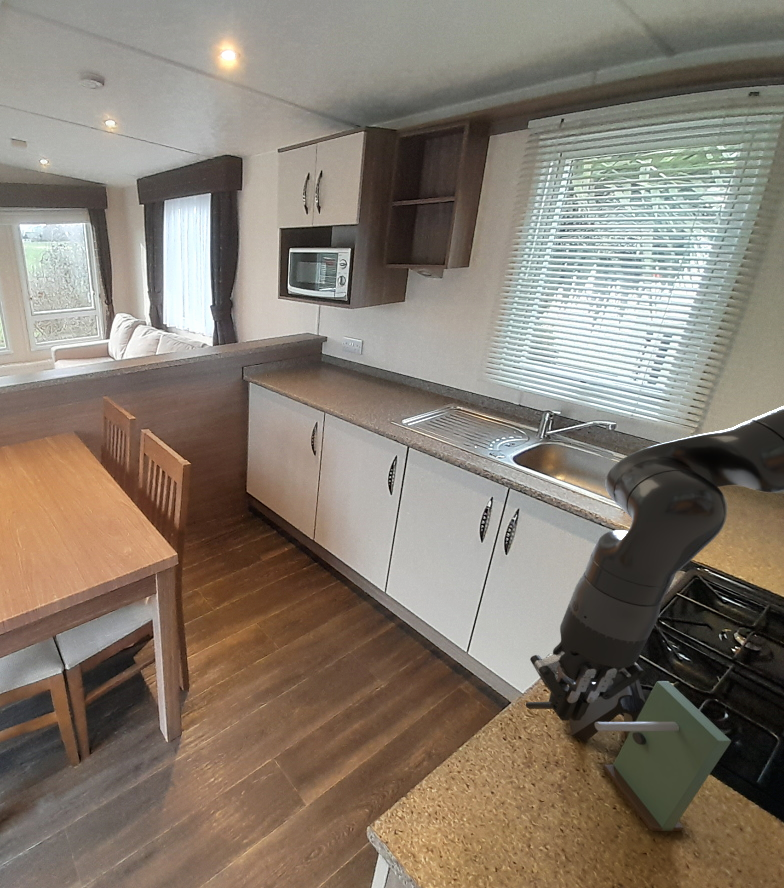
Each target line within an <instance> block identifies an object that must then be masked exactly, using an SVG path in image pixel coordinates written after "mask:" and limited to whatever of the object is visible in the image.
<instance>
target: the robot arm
mask: <svg viewBox="0 0 784 888" xmlns="http://www.w3.org/2000/svg"><path fill="white" fill-rule="evenodd" d="M604 486H605V490H606V492H607V494H608V496H609V497H610V499H611V500H612V501H614V503H615V504H616V505H617V506H618V507H619V508H620V509H621V510H623V511H624V512H625V513H626V514H627V515H628V516H629V517H630V518H631V523H630V527H629V528H628V530H627V529H625V530H624V529H615V530H610V531H607V532H605V533H603V534H602V535H600V537H599V538H598V539H597V540H596V543H595V545H594V547H593V548H592V551H591V553H590V556H589V558H588V562H587V564H586V567H585V569H584V571H583V573H582V576H581V577H580V578H579V580H578V582H577V583H576V585H575V587H574V589H573V590H574V591H573V592H572V595H571V597H570V600H569V603H568V605H567V608H566V610H565V613H564V615H563V618H562V620H561V623H560V626H559V633H560V642H559V643H558V644H557V645H556V646H555V647H554V648H553V650H552V654H551V655H548V656H546V657H544V658H542V657H541V656H540V655H539V654H534V655H532V656H531V657H530V659H529V660H530V663H531V664H532V665H533V668H534V669H535V671H536V673H537V674H538V676H539V678H540V679H541V681H542V682H543V684H544V685H545V687H546V688H547V689H548V690H549V692H550V694H551V693H552V694H553V695H554V697H553V700H552V702H551V707H552V709H551V710H553V712H554V713H555V715H557V717H558V718H559V720H561V721H562V722H563V721H569V722H570V720H569V719H570V718H571V719H572V720H573V721H580V720H581V718H582V716H583V715H584V714H585V713H586V711H587V708H588V706H589V704H590V703H593V702H595V701H596V700H597V698H598V697H602V698H603V699H605V700H607V699H610V698H612V697H613V696H614V695H616V694H617V693H619V692H620V691H622V690H623V689H625V688H626V687H628V686H629V685H631V684H632V683H634V682H635V681H637V680H638V679H639V680H640V679H641V678H643V677H644V676H645V675H646V671H645V670H644V669H643V668H642V667H641V666H640V664H638V663H637V661H638V660H639V658H640V656H641V654H642V652H643V650H644V648H645V645H646V644H647V641H648V640H649V638H650V636H651V634H652V631H653V629H654V627H655V626H656V623H657V621H658V619H659V616H660V614H661V613H660V612H661V608H662V604H663V601H664V600H665V598H666V596H667V593H668V591H669V590H670V588H671V586H672V584H673V582H674V579H675V576H676V574H677V573H678V572H679V571H680V570H681V569H683V568H684V567H685V566H686V565H688V564H689V563H690V562H691V561H692V560H693V559H694V558H695V557H696V556H697V555H699V553H700V552H702V551H703V550H704V549H705V548H706V547H707V546H708V545H709V544H710V543H711V542H713V540H714V539H715V538H716V537H717V536H718V535H719V534H720V533H721V531H722V530H723V528H724V526H725V524H726V520H727V518H728V501H727V498H726V496H725V494H724V493H723V491H722V489H720V488H719V487H726V486H734V487H735V486H737V487H742V488H746V489H750V490H753V491H757V492H761V493H768V494H770V493H780V492H784V405H783V406H780V407H778V408H776V409H773V410H771V411H768V412H765V413H764V414H760V415H758V416H756V417H753V418H750V419H749V420H746V421H744V422H742V423H739V424H737V425H735V426H732V427H730V428H727V429H723V430H718V431H713V432H707V433H702V434H697V435H693V436H689V437H683V438H680V439H676V440H672V441H666V442H664V443H658V444H655V445H652V446H651V445H650V446H648V447H645V448H642V449H640V450H637V451H635V452H632V453H630V454H629V455H627V456H625V457H623V458H622V459H620V460H619V461H618V462H616V463H615V464H614V465H613V466H612V467H611V468H610V470H609V471H608V472H607V475H606V477H605V481H604ZM557 673H558V674H557ZM555 677H556V678H557V677H558V678H557V679H556V678H555ZM611 679H612V681H613V684H612V685H610V686H609V687H608V685H609V683H610V681H611Z"/></svg>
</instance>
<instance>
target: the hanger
mask: <svg viewBox="0 0 784 888" xmlns="http://www.w3.org/2000/svg"><path fill="white" fill-rule="evenodd" d="M557 674H558V672H557ZM555 678H556V677H555ZM557 678H558V677H557ZM557 678H556V679H557ZM553 697H554V695H553V694H552V693H551V692H550V695H549V699H548V701H530V702H529V701H527V702H526V703H525V707H526V708H527V709H528V710H553V709H552V707H551V702H552V700H553Z"/></svg>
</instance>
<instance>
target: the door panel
mask: <svg viewBox="0 0 784 888" xmlns="http://www.w3.org/2000/svg"><path fill="white" fill-rule="evenodd" d="M645 701H646V703H645V705H644V707H643V709H642V711H641V712H640V714H639V716H638V718H637V720H636V722H624V721H610V722H595V728H596V729H597V730H598V732H625V731H630V733H629V735H628V737H627V739H626V738H625V741H624V742H623V744H622V746H621V748H620V751H619V752H618V755H617V756H616V758H615V760H614V761H613V764H603V766H602V769H603V770H604V771H605V773H606V774H607V775H608V776H609V778H610V779H611V780H612V782H613V783H614V784H615V786H616V787H617V788H618V790H619V792H621V793H622V795H623V797H624V798H625V799H626V800H627V802H629V804H630V805H631V807H632V808H633V809H634V811H635V812H636V814H637V815H638V816H639V818H640V819H641V820H642V821H643V822H644V824H645V825H646V826H647V828H648V829H649V830H650V831H651V832H665V831H666V832H682V831H683V830H684V826H683V825H682V823H680V820H681V818H682V817H683V815H684V814H685V812H686V811H687V809H688V808H689V807H690V805H691V803H692V801H693V800H694V798H695V797H696V795H697V794H698V792H699V791H700V790H701V788H702V786H703V785H704V783H705V781H707V779H708V777H709V776H710V775H711V773H712V771H713V770H714V768H715V767H716V766H717V764H718V762H719V761H720V759H721V758H722V757H723V755H724V753H725V752H726V751H727V749H728V747H729V746H730V744H731V743H732V740H731V739H730V737H728V736H727V735H725V733H724V732H723V731H722V730H720V728H718V727H717V726H716V725H715V724H714V723H713V722H712V721H711V720H710V719H709V718H708V717H707V716H706V715H705V714H704V713H703V712H701V710H699V709H698V708H697V707H696V706H695V705H694V704H693V703H692V702H691V701H690V700H689V699H688V698H687V697H686V696H684V694H683V693H681V692H680V690H679V689H677V688H676V687H675V686H674V685H673V684H672V683H671V682H670V681H669V680H658V681H655V684H654V686H653V688H652V690H651V691H650V693H649V695H648V697H647V699H646V700H645Z"/></svg>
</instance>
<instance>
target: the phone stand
mask: <svg viewBox="0 0 784 888" xmlns="http://www.w3.org/2000/svg"><path fill="white" fill-rule="evenodd" d="M612 684H613V681H612V679H611V681H610V683H609V685H608V687H609V686H610V685H612ZM646 701H647V700H646V697H645V694H644V691H643V687H642V685H641V681H640V679H638V680H637V681H635V682H634V683H632V684H631V685H629V686H628V687H626V688H625V689H623V690H622V691H620V692H619V693H617V694H616V695H614V696H613V697H612V698H610V699H607V700H605V699H603V698H602V697H598V698H597V700H596V701H595V702H593V703H590V704H589V706H588V708H587V711H586V713H585V714H584V715H583V716H582V718H581V720H580V721H573V720H572V719H571V718H570V719H569V728H570V734H571V737H573V738H575V739H578V740H581V741H584V742H588V740H590V739H591V738H592V737H593V736H595V735H596V734H597V733H599V731H598V730H597V729H596V728H595V722H612V721H613V720H614V719H616V717H617V716H619V715H621V714H623V722H636V720H637V718H638V716H639V714H640V712H641V711H642V709H643V707H644V705H645V703H646ZM629 733H630V731H624V734H625V740H626V739H627V737H628V735H629Z"/></svg>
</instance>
